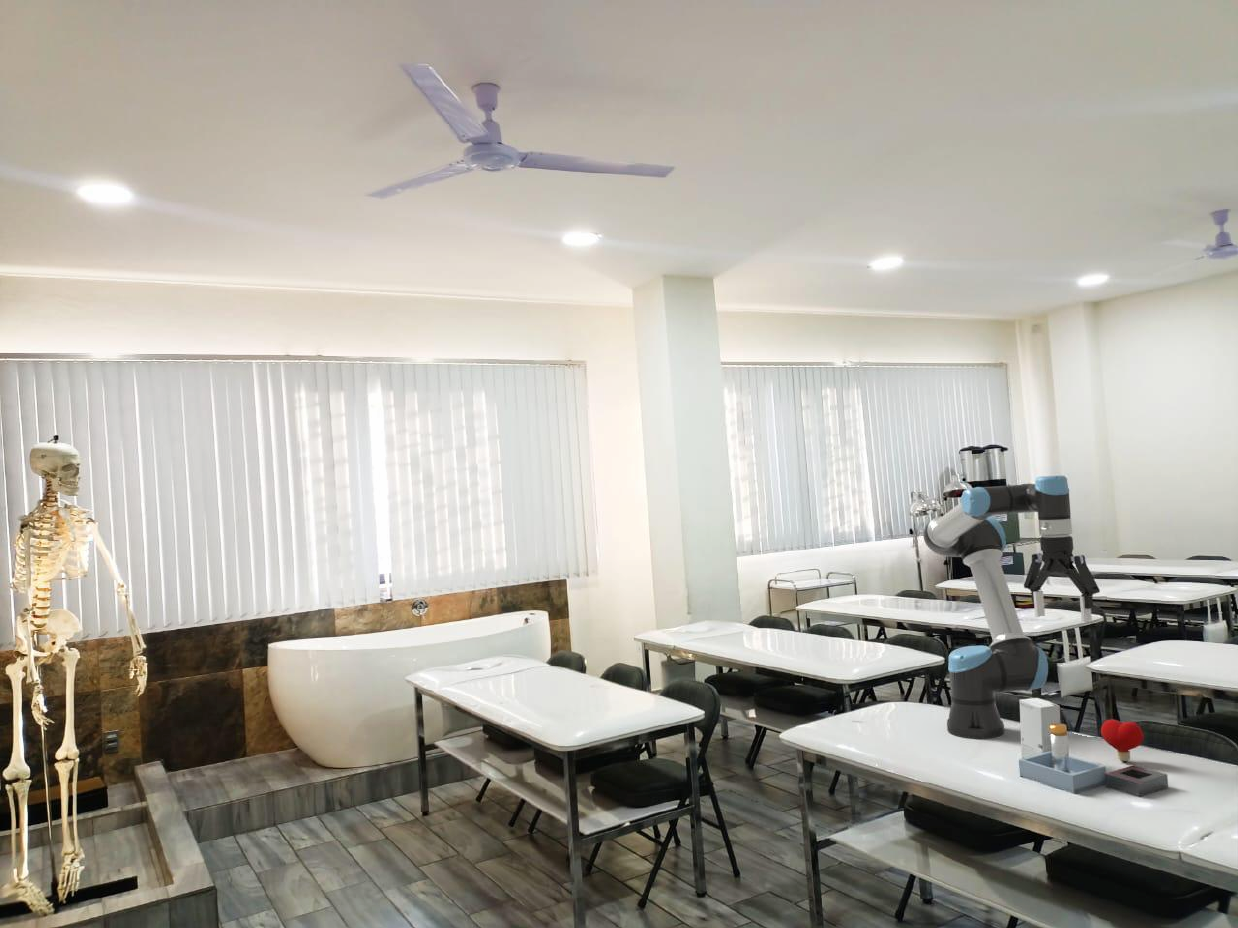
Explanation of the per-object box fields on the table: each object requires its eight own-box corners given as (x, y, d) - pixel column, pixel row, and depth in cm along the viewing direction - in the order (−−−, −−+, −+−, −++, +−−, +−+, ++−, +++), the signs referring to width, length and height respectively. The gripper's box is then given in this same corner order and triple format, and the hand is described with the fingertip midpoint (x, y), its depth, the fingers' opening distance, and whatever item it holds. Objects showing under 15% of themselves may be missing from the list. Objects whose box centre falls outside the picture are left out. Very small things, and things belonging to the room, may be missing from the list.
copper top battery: (1050, 775, 207) (1045, 724, 208) (1060, 772, 209) (1056, 722, 209) (1063, 779, 204) (1059, 728, 204) (1074, 776, 205) (1069, 725, 206)
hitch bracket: (1105, 786, 200) (1104, 773, 200) (1134, 777, 204) (1133, 765, 204) (1139, 796, 193) (1138, 783, 193) (1168, 787, 197) (1167, 774, 197)
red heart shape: (1099, 762, 216) (1095, 721, 217) (1108, 754, 221) (1104, 715, 222) (1141, 769, 210) (1137, 727, 210) (1149, 761, 215) (1146, 720, 215)
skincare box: (1021, 757, 224) (1016, 699, 224) (1041, 754, 225) (1036, 696, 226) (1044, 767, 216) (1039, 706, 216) (1065, 763, 217) (1060, 703, 218)
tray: (1020, 776, 211) (1018, 759, 211) (1052, 767, 215) (1050, 750, 215) (1073, 793, 197) (1072, 775, 197) (1107, 783, 202) (1105, 766, 202)
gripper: (1005, 536, 234) (1012, 615, 233) (1090, 538, 211) (1097, 626, 211) (1025, 533, 237) (1031, 612, 236) (1110, 535, 214) (1118, 622, 214)
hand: (1062, 618), depth 224 cm, fingers open, 13 cm apart
